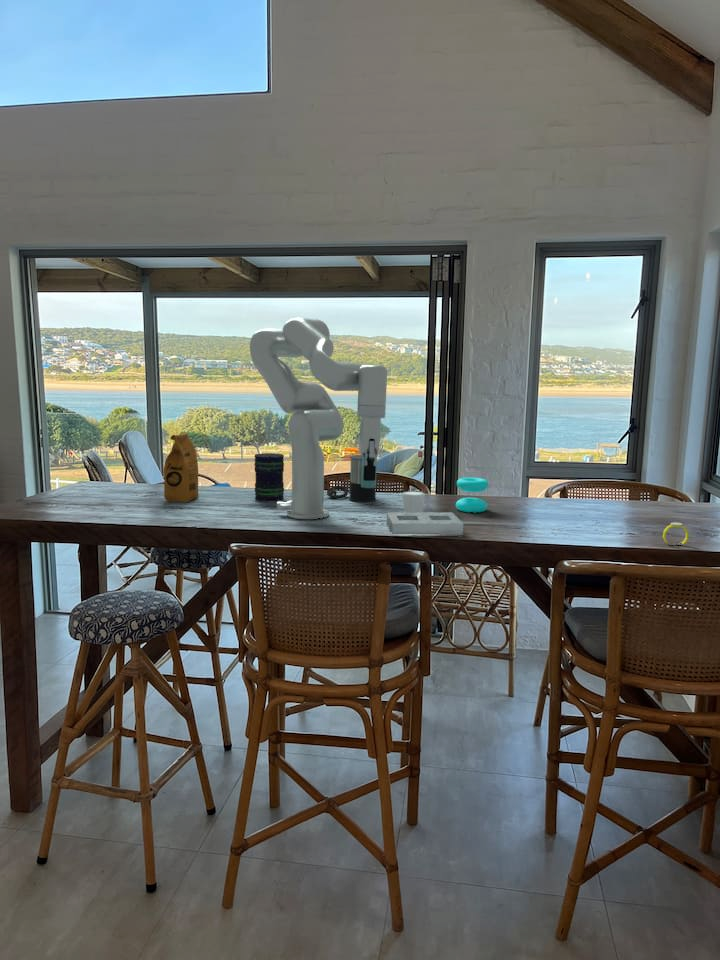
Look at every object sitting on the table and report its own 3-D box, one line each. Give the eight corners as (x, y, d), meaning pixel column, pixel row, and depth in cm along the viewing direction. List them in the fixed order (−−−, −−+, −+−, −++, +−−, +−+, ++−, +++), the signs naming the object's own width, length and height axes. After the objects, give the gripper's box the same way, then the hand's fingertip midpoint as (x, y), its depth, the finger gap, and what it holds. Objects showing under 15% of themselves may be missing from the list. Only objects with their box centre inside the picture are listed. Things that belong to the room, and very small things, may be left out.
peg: (361, 487, 182) (363, 451, 180) (360, 485, 186) (362, 449, 184) (376, 488, 182) (378, 451, 180) (374, 485, 186) (376, 449, 184)
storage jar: (254, 496, 231) (253, 453, 229) (283, 495, 233) (282, 453, 230) (255, 502, 221) (254, 457, 219) (285, 501, 223) (285, 456, 221)
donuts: (454, 476, 218) (485, 477, 218) (453, 506, 219) (483, 507, 219) (459, 481, 208) (491, 482, 208) (458, 513, 209) (490, 513, 210)
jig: (392, 536, 179) (392, 523, 178) (386, 524, 192) (386, 512, 192) (462, 536, 180) (463, 523, 180) (451, 524, 194) (452, 512, 193)
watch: (664, 547, 173) (665, 524, 172) (661, 544, 176) (661, 522, 175) (689, 547, 172) (690, 524, 172) (685, 544, 175) (686, 521, 174)
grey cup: (423, 518, 201) (423, 495, 200) (400, 517, 202) (400, 494, 201) (425, 513, 208) (426, 491, 206) (403, 512, 209) (404, 490, 208)
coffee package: (159, 502, 219) (156, 434, 215) (175, 495, 231) (173, 431, 227) (188, 503, 217) (186, 435, 214) (203, 496, 229) (201, 432, 226)
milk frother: (379, 502, 225) (380, 458, 223) (333, 503, 221) (333, 459, 219) (368, 494, 239) (368, 452, 236) (324, 495, 235) (324, 453, 232)
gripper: (355, 408, 188) (352, 473, 191) (359, 414, 171) (356, 484, 175) (382, 409, 188) (379, 473, 192) (388, 415, 172) (385, 485, 175)
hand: (368, 478), depth 183 cm, fingers closed on peg, 4 cm apart
